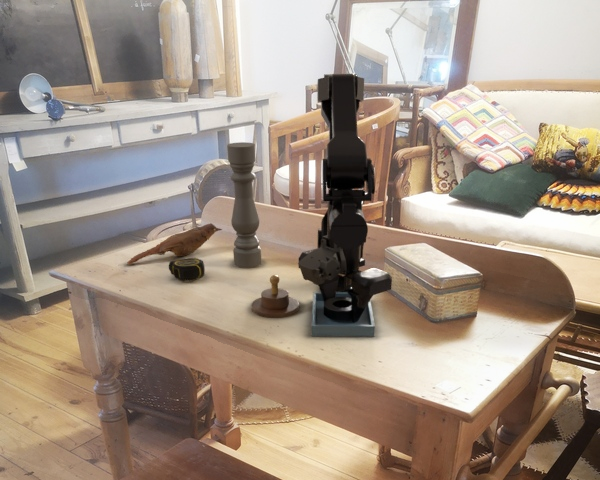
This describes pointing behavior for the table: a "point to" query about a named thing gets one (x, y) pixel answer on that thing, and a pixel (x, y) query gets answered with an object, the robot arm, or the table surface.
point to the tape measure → (187, 268)
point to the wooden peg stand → (275, 302)
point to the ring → (338, 308)
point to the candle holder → (244, 205)
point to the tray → (340, 321)
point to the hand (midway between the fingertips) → (341, 315)
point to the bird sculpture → (181, 242)
